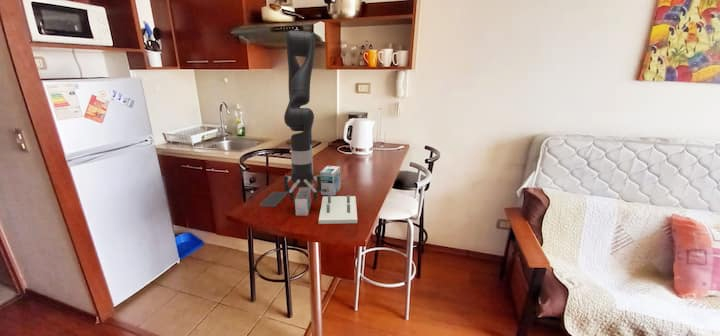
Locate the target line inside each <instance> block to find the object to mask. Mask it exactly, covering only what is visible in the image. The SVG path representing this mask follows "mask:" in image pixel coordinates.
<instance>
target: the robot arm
mask: <svg viewBox="0 0 720 336" xmlns="http://www.w3.org/2000/svg"><path fill="white" fill-rule="evenodd" d="M285 45H286V47H285V48H286V56H287V67H288V68H287V69H288V98H289V99H288V105H287V106H286V109H285V111H284V112H285V113H284V117H283V119H284V123H285V125H286V126H287V127H289V128H290V130H291V131H292V132H299V133H294V134H292V135H291V137H290V144H291V145H290V147H291V157H290V158H291V159H290V161H291V170H292V171H291V172H292V175H288V174H285V176H284V178H283V184H284V185H283V188H284V189H283V190H284V191H283V192H287V193H289V200H290V201H291V202H295V192H294V191H295V189H296V187H298V188H310V189H311V190H312V199H313V202H316V200H317V199H318V192H321V188H322V186H321V176H320V174H317V175H314V163H313V161H314V159H313V140H312V137H313V136H312V135H313V134H312V129H313V124H314V120H315V114H314V111H313V110H312V109H311V108H310V107H309V108H308V107H302V106H306V105H308V104H309V103H310V98H311V97H310V95H311V92H310V91H311V90H310V89H311V78H312V71H313V67H314V59H315V50H316V37H315V34H314V33H313V32H309V31H302V30H301V31H300V30H288V31H287V32H286V36H285ZM297 57H303V58H305V59H304V62H303V63H302V64H301V65H300V63H299V62H298V59H297ZM313 180H315V182H316V183H317V186H316V185H315V184H314V182H313ZM290 181H292V182H293V184H292V186H291V187H290V186H289V182H290Z"/></svg>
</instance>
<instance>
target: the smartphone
mask: <svg viewBox="0 0 720 336" xmlns="http://www.w3.org/2000/svg"><path fill="white" fill-rule="evenodd" d="M288 193H289V192H288V191H273V192H271V193H270V194H269V195H268V196H267V197H266V198H264V199H263V201H262V202H260V203H259V205H258V206H259V207H264V206H265V208H266V207H267V208H276V207H277V206H279V204H280V203H281V202H282V201H283V200H284V199H286V197H287V196H288V195H289V194H288Z"/></svg>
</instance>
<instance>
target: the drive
mask: <svg viewBox="0 0 720 336" xmlns="http://www.w3.org/2000/svg"><path fill="white" fill-rule="evenodd" d="M311 190H312V189H310V187H298V189H297V193H296V195H295V196H294V206H295V208H294V209H295V216H299V217H300V216H301V217H302V216H306V217H307V216H309V212H310V208H311V204H312V195H311V194H312V191H311Z"/></svg>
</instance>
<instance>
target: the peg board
mask: <svg viewBox="0 0 720 336" xmlns="http://www.w3.org/2000/svg"><path fill="white" fill-rule="evenodd" d="M325 224H326V225H330V224H331V225H332V224H334V225H335V224H340V225H342V224H344V225H345V224H358V211H357V198H356V196H355V195H353V196H352V195H350V194H347V195H346V196H345V195H343V196H342V195H340V196H339V195H337V196H336V195H335V196H332V195H324V196H322V200H321V206H320V211H319V216H318V225H325Z"/></svg>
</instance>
